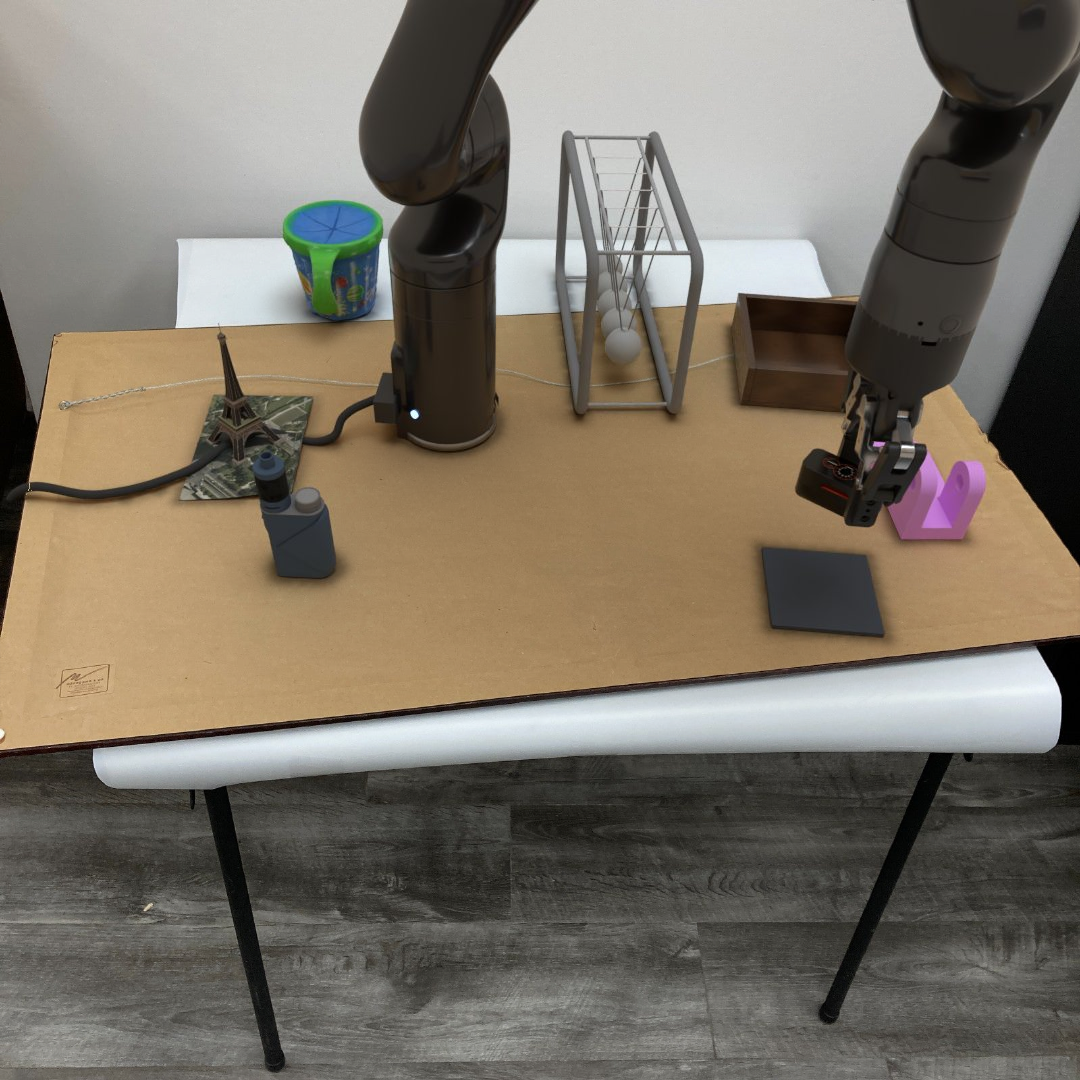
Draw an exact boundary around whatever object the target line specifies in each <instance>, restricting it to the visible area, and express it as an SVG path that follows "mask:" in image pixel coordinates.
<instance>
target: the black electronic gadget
mask: <svg viewBox="0 0 1080 1080" xmlns="http://www.w3.org/2000/svg"><path fill="white" fill-rule="evenodd" d="M858 466H859V465H857V464H855V463H852V462H850V461H848V460H846V459H843V458H841V457H839V456H837V454H834V453H832V452H830V451H828V450H825V449H824V448H818V447H817V448H813V449H812V450H811V451H810V452H809V453H808V454H807V456H805V458H804V459H803V460H802V462H801V465H800V470H799V472H798V475H797V479H796V483H795V486H794V492H795V494H796V495H797V496H798V497H799V498H801V499H804V500H806V501H808V502H810V503H812V504H814V505H817V506H819V507H820V508H823V509H824V510H827V511H829V512H831V513H833V514H835V515H837V516H839V517H841V518H844V517H843V515H844V512H845V509H846V506H847V503H848V500H849V497H850V494H851V492H852V489H853V486H854V483H855V479H856V476H857V471H858ZM870 471H871V469H870V470H869V473H870ZM902 500H903V498H902V499H901V501H902ZM901 501H900V502H901ZM892 504H894V503H892V502H886V501H883V503H882V506H881V508H880V511H879V513H880V512H881V510H882V507H883V506H884V507H885V508H887V507H889V506H891V505H892ZM895 504H898V503H895Z"/></svg>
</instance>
